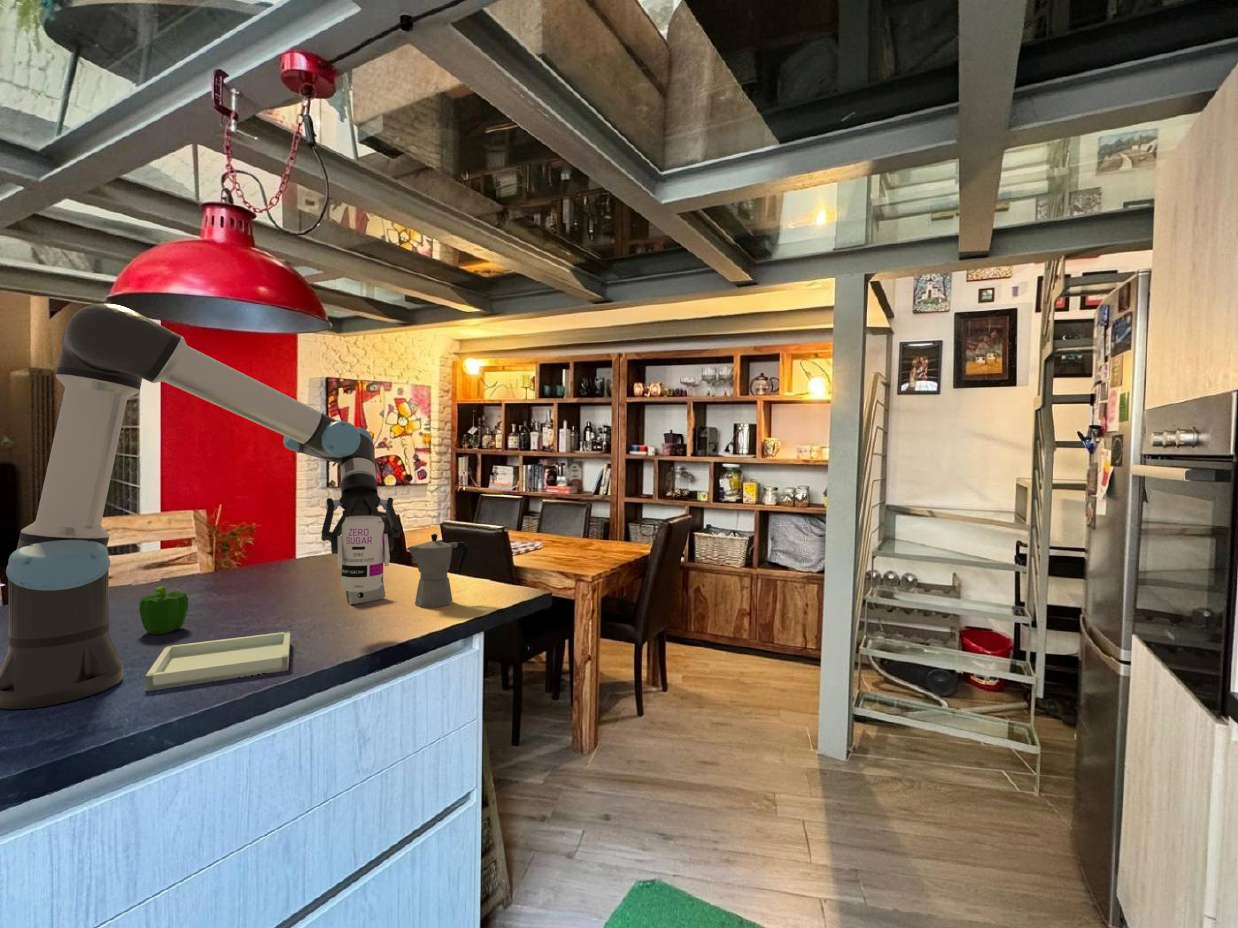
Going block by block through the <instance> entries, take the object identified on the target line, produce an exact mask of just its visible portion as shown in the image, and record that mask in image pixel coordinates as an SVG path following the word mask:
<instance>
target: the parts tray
mask: <svg viewBox="0 0 1238 928" xmlns="http://www.w3.org/2000/svg"><path fill="white" fill-rule="evenodd" d="M290 650H291V631H282V632H275V633H274V632H273V633H267V634H258V635H257V634H255V635H250V636H243V637H242V636H241V637H233V638H224V639H216V640H207V641H200V642H199V641H198V642H193V643H192V642H190V643H183V644H174V645H166V646H164V648H163V650H161V651H162V652H160V655H158V657H157V659H156V660H155V661H154V663H153V664H152V665H151V667H150V669H148V671H147V673H146V674H145V676H144V678H145V679H144V685H145V686H144V690H145V692H151V691H158V690H165V689H171V688H177V687H184V686H191V685H198V684H204V683H213V682H218V681H224V680H225V681H226V680H232V679H238V677H240V678H246V677H252V676H251V675H253V676H258V675H257V674H260V675H263V674H262V673H267V674H271V673H272V674H273V673H280V672H286V671H289V666H290ZM245 676H246V677H245ZM212 681H213V682H212Z"/></svg>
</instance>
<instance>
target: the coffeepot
mask: <svg viewBox="0 0 1238 928" xmlns="http://www.w3.org/2000/svg"><path fill="white" fill-rule="evenodd" d="M438 535H439V534H436V533H433V534H430V537H431V541H427V542H423V543H419V544H416V545H411V546H408V547H407V548H406V551H408V552H410V554H411V555H412V557H413V559H414V560H415V562H416V563H417V564H416V565H417V571H418V572H419V574H420V579H419V580H418V584H417V591H416V594H415V595H416V596H415V602H414V605H415V606H417V607H419V608H424V609H433V608H434V609H435V608H441V607H446V606H450V605H451V604H452V602H453V595H452V591H451V590H452V589H451V584H450V583H451V582H450V578H449V577H448V571H449V570H450V567H451V560H452V553H453V551H457V550H462V551H461V554H460V560H459V562H458V568H457V569H453V570H452V572H453V574H461V573H462V572H463V569H464V567H465V565H466V560H467V559H468V556H469V554H470V547H469V546H468V544H466V543H465V542H464V541H457V542H455V541H454V542H448V543H447V542H444V541H441V540H440V541H438Z"/></svg>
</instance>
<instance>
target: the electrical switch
mask: <svg viewBox="0 0 1238 928" xmlns="http://www.w3.org/2000/svg"><path fill="white" fill-rule="evenodd" d="M345 594H346V603H348V604H350V605H351V604H355V605H359V603H360V604H364V603H369V602H374V601H379V600H383V599H385V597H386V592H385V586H384V582H383V584H382V585H381V586H380V588H378V589H375V590H371V591H364V592H350V591H345ZM378 599H379V600H378ZM373 600H374V601H373Z"/></svg>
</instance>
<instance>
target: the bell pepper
mask: <svg viewBox="0 0 1238 928" xmlns="http://www.w3.org/2000/svg"><path fill="white" fill-rule="evenodd" d="M138 604H139V605H138V606H139V614H140V618H141V619H140V620H141V623H142V625H143V626H142V627H143V628H144V630H145V631H146V632H147V633H149V634H151V635H164V634H168V633H171V632H173V631H175V630H180V629H182V626H183V625H184V623H185V620H186V617H187V614H188V609H189V597H188V595H187V593H185V592H184V593H183V592H181V591H178V590H177V591H176V590H175V591H172V592H169V593H167V590H166V588H165V587H164V586H158V587H156V588H155V590H154V593H152V594H150V595H145V596H142V597H141V598H140V599H139V603H138Z"/></svg>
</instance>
